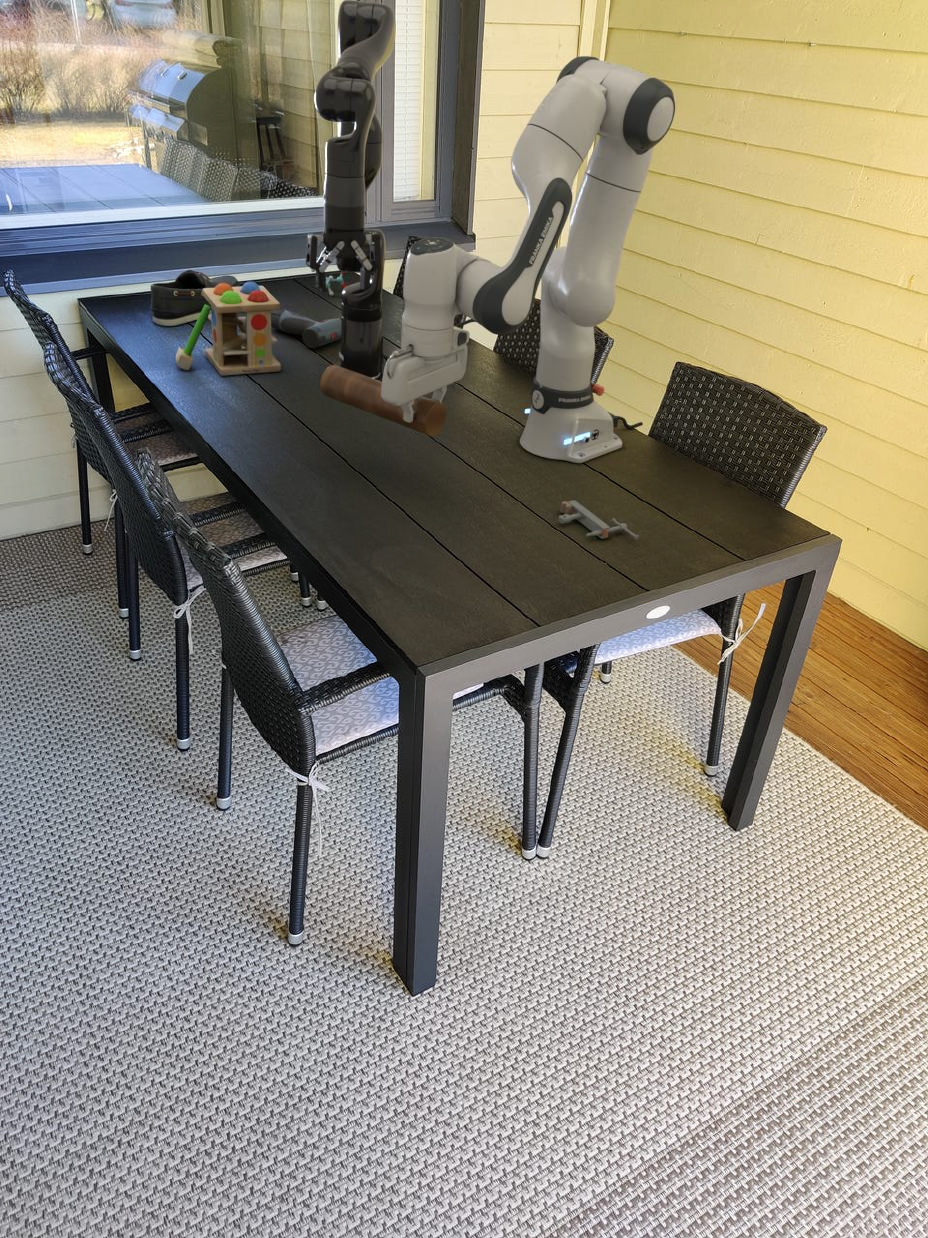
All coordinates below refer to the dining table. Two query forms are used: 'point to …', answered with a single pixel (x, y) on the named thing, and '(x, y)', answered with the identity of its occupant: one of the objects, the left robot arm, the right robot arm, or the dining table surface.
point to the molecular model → (330, 279)
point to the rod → (380, 400)
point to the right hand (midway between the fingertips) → (422, 414)
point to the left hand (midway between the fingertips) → (343, 289)
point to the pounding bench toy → (229, 347)
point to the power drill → (307, 327)
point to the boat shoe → (183, 297)
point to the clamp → (582, 515)
